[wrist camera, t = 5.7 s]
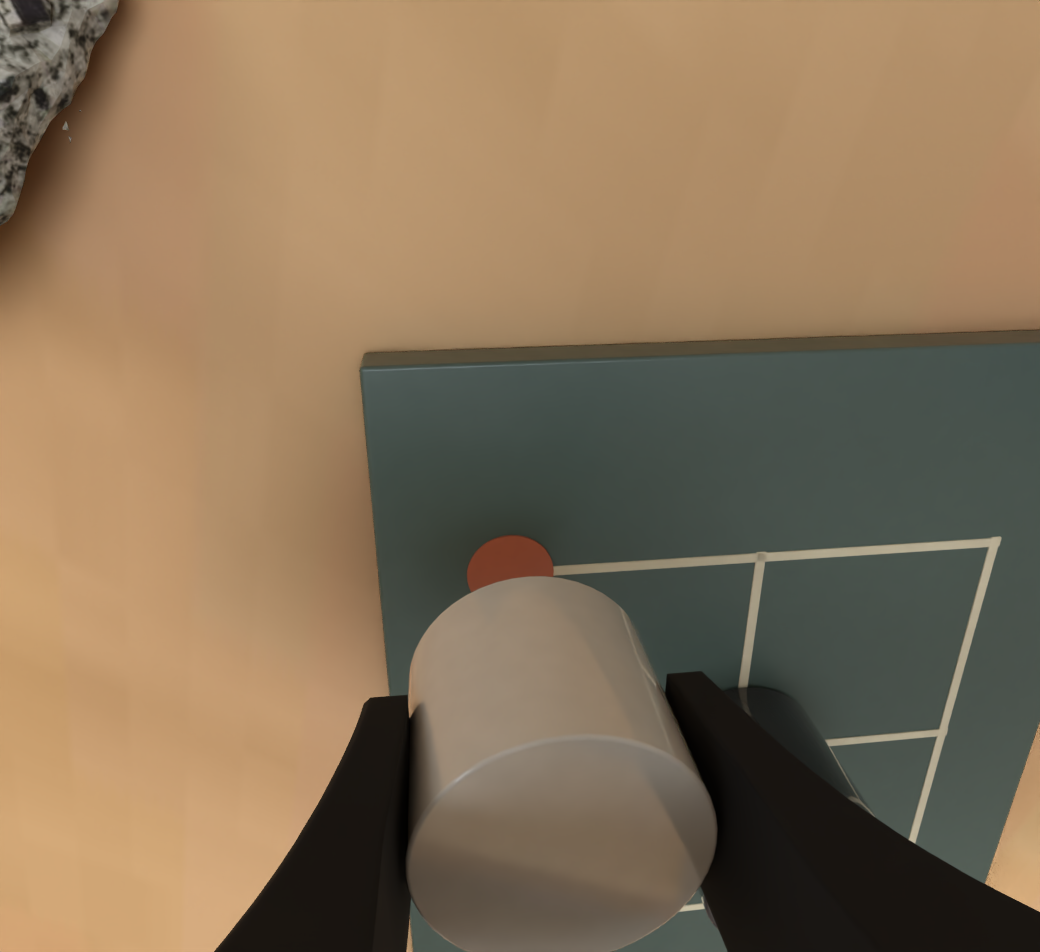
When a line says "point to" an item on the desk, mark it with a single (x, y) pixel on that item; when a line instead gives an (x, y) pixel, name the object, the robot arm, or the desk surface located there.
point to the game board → (751, 539)
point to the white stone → (547, 776)
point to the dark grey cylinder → (793, 741)
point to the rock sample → (40, 75)
